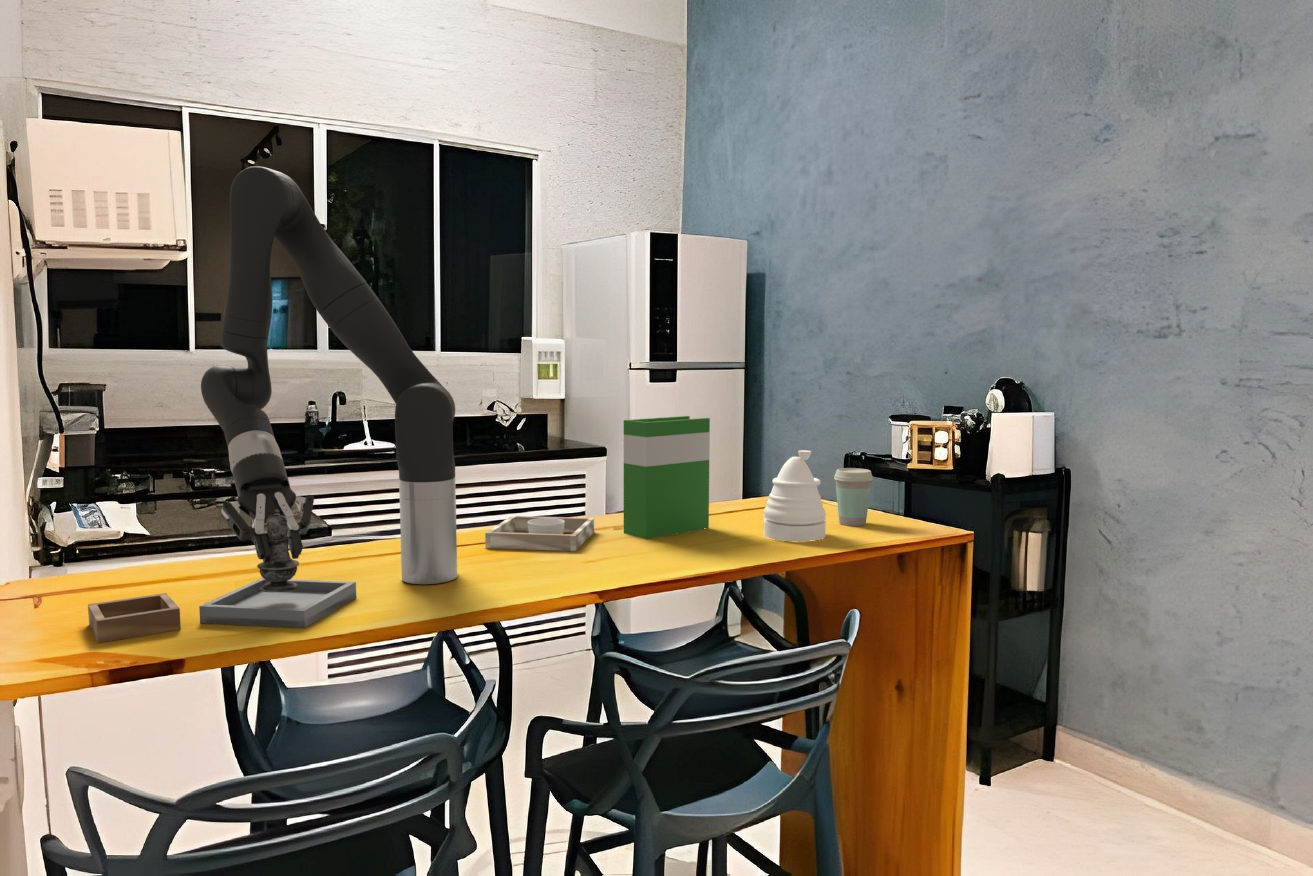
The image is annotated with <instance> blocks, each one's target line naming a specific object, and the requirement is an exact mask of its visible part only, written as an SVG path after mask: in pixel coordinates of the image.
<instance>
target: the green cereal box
mask: <svg viewBox="0 0 1313 876" xmlns="http://www.w3.org/2000/svg"><path fill="white" fill-rule="evenodd" d="M710 420H711V418H710V417H700V418H690V415H683V416H669V417H668V416H667V417H655V418H654V417H652V418H639V419H638V418H636V419H624V420H623V534H625V535H629V536H632V537H636V538H639V537H640V538H639V539H644V540H648V539H654V538H653V537H655V538H661V537H666V536H665V535H667V536H672V534H673V535H677V534H676V533H679V534H683V533H689V532H688V531H690V532H696V531H701V529H702V530H705V529H704V528H708V529H710V523H709V522H710V439H711V438H710V437H711V436H710V433H711V429H710V425H711V424H710V423H711V421H710ZM660 536H661V537H660Z"/></svg>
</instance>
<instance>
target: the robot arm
mask: <svg viewBox="0 0 1313 876" xmlns="http://www.w3.org/2000/svg"><path fill="white" fill-rule="evenodd" d="M229 190H230V192H229V215H230V258H229V259H230V260H229V261H230V262H229V277H228V288H227V293H226V294H227V295H226V300H225V308H224V315H223V321H222V327H221V328H222V329H221V335H220V346H221V347H222V348H223V349H224V350H225V351H227V352H230V353H232V354H235V355H239V356H242V357H245V359H246V362H247V368H246V367H235V366H226V365H215V366H211V367H210V368H208V370H206V371H205V372H204V374H203V376H202V378H201V381H200V390H201V396H202V399H203V401H204V403H205V405H206V408H207V409H208V410H209V412H210V413H211V415H212V416H213V417H214V419H215V421H216V422H217V423H218V426H220V428H221V430H222V432H223V433H224V439H225V441H226V442H225V443H226V446H227V450H228V461H229V467H230V471H231V474H232V476H233V481H234V485H235V488H236V489H235V490H236V492H237V493H236V494H237V497H238V498H237V500H236V501H234V502H229V501H225V502H223V504H222V508H221V512H220V517H221V518H222V519H223V521H225V523H226V524H227V526H228V527H229V528H230V530H231V531H232V532H233V533H234V534H235V536H236V537H237V538H238V540H239V541H241V542H246V541H251V542H252V543H253V544H254V548H255V552H256V556H257V558H258V560H262V562H264V563H265V562H269V560H270V557H271V553H270V549H269V545H268V541H267V534H264V531H265V530H264V528H265V524H267V519H268V518H269V517H270V516H273V515H274V514H275V512H274V511H275V510H276V509H278V511H279V514H280V515H283V516H285V517H286V518H287V531H288V537H290V540H289V541H288V548H289V553H290V556H291V559H292V560H296V559H299V558H300V555H302V553H303V552H302V551H303V548H304V545H303V541H302V538H301V535H306V534H307V533H308V528H309V526H310V524H311V518H312V513H313V508H314V502H315V496H314V495H312V494H308V495H306V497H303V496H299V495H297V494H296V493H295V491H293V489H292V488H291V485H290V482H289V478H288V475H287V473H288V472H287V470H286V468H285V463H284V459H283V457H282V453H281V450H280V447H279V444H278V443H277V441H276V438H275V435H274V431H273V427H272V425H271V421H270V418H269V416H268V414H267V413H266V412H265V410H263V409H264V408H265V407H266V406H267V405H268V403H269V402H270V401H271V397H272V393H273V392H272V391H273V390H272V382H271V381H272V380H271V375H270V368H269V367H270V366H269V359H268V358H269V357H268V341H269V335H270V329H271V321H272V315H273V288H272V277H271V259H272V258H271V257H272V256H271V255H272V248H273V244H274V239H275V240H276V241H277V243H279V245H280V246H281V247H282V249H283V250H284V251H285V252H286V254H288V256H289V257H290V259H291V260H292V261H293V264H294V266H295V268H296V269H297V272H298V274H299V276H300V279H301V281H302V284H303V287H304V289H305V291H306V293H307V296H308V298H309V299H310V301H311V303H312V305H313V307H314V308H315V310H316V311H317V313H318V314H319V315H320V317H321V318H322V320H323V321H324V322H325V323H326V325H327V326H328V327H329V329H330V330H331V331H332V333H333V335H335V337H337V338H338V339H339V341H340V342H341V343H342V344H343V345H344V346H345V348H347V349H348V350H349V351H350V352H351V353H352V354H353V355H354V356H355V357H356V358H357V359H359V360H360V361H361V362H362V363H363V364H364V365H365V366H366V367H367V368H369V370H371V372H372V373H374V375H376V377H377V378H378V380H380V382H381V383H382V385H383V386H384V388H385V389H386V391H387V392H388V394H389V396H390V398H392V400H393V402H394V403H395V409H394V410H395V411H394V431H395V432H394V434H395V452H396V453H395V454H396V456H395V457H396V463H397V467H398V481H399V482H398V485H399V486H398V487H399V490H398V491H399V492H398V493H399V519H400V520H399V522H400V523H399V525H400V558H401V559H400V563H401V565H400V566H401V580H402V582H405V583H407V584H414V585H436V584H442V583H446V582H451V581H453V580H455V579H457V577H458V546H457V545H458V544H457V543H458V542H457V540H458V539H457V500H456V499H457V497H456V496H457V495H456V462H455V456H454V455H455V454H454V435H453V434H454V432H453V431H454V430H453V425H454V424H453V421H454V419H455V416H456V404H455V401H454V398H453V396H452V395H451V393H450V392H449V390H447V389H446V387H444V386H443V385H442V384H441V382H439V380H438V379H437V378H436V377H435V376H434V375H433V373H432V372H431V371H429V369H428V368H427V367H426V366H425V365H424V363H422V361H421V360H420V359H419V358H418V357H417V356H416V354H415V353H414V352H413V350H412V349H411V346H409V344H408V343H407V341H406V339H405V337H404V336H403V333H401V330H400V329H399V327H398V326H397V324H396V323H395V321H394V320H393V318H392V316H390V315H391V314H389V311H388V310H387V309H386V308H385V306H384V305H383V303H382V301H381V300H380V298H379V297H378V296H377V295H376V293H375V292H374V290H373V289H372V288H371V287H370V285H369V284H368V282H367V280H365V278H363V276H362V275H361V273H360V272H359V270H357V269H356V267H355V266H354V264H352V262H351V261H350V260H349V258H348V257H347V256H346V255H345V253H344V252H343V251H342V250H341V249H340V248H339V247H338V245H337V244H336V243H335V242H334V241H333V239H332V238H331V237H330V236H329V235H328V233H327V231H326V230H325V228H324V227H323V225H322V223H321V222H320V220H319V218H318V217H317V215H316V214H315V212H314V211H313V209H312V206H311V205H310V204H309V202H308V200H307V199H306V197H305V194H304V193H303V191H302V190H301V188H300V187H299V185H298V184H297V183H296V182H295V181H294V179H292V178H291V177H290V176H288V175H287V174H285V173H283V172H281V171H277V170H275V169H272V168H268V167H264V166H257V165H255V166H249V167H247V168H243V170H241V171H240V172H239V173H237V174H236V175H235V177H234V179H233V181H232V183H231V185H230V189H229ZM294 505H296V506H297V509H298V511H299V512H300V513H301V515H300V521H299V522H297V521H296V519H295V517H294V516H295V515H294V512H293V511H292V509H293V506H294ZM240 512H242V513H244V514H245V515H247V516H248V517H249V518H251V519H252V524H251V526H252V527H251V526H249V524H248V523H247V522H246V521H245V520H244V518H243V517H242V516H241V515H240Z"/></svg>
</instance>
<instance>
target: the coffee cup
mask: <svg viewBox="0 0 1313 876" xmlns="http://www.w3.org/2000/svg"><path fill="white" fill-rule="evenodd" d="M833 476H834V477H833V479H834V480H835V491H836V492H835V493H836V501H837V515H838V522H839V524H840V525H843V526H847V527H848V526H850V527H862V526H865V525H867V518H868V510H869V505H870V504H869V503H870V496H871V492H872V491H871V490H872V482H873V481H874V479H873V478H874V476H873V475H872V471H871V470H870V469H866V468H858V467H857V468H856V467H845V468H843V467H842V468H838V469H836V471H835V474H834V475H833Z"/></svg>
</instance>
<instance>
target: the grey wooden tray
mask: <svg viewBox="0 0 1313 876" xmlns="http://www.w3.org/2000/svg"><path fill="white" fill-rule="evenodd" d="M538 518H558V519H562V520H564V521H565V524H564V532H563V534H538V533H529V530H528V521H529V520H532V519H538ZM573 532H574V533H573ZM564 533H566V534H564ZM567 533H571V534H567ZM594 533H595V518H594V517H563V516H559V517H558V516H531V515H530V516H529V515H528V516H525V515H510V516H509V517H507V518H506V519H505V520H503V521H501V522H500V523H498V524H497V525H496V526H494V527H492V528H491V529H489V530H488V531H485V533H484V536H485V537H484V540H485V541H484V542H485V543H484V545H485V549H501V550H502V549H504V550H506V549H508V550H531V551H533V550H534V551H537V550H539V551H559V552H560V551H564V552H569V551H570V552H576V551H578V549H579V548H580V547H581V546H582V545H583V544H584V543H585V542H587V540H588V539H589V538H590V537H591V536H592V535H593V534H594Z"/></svg>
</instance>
